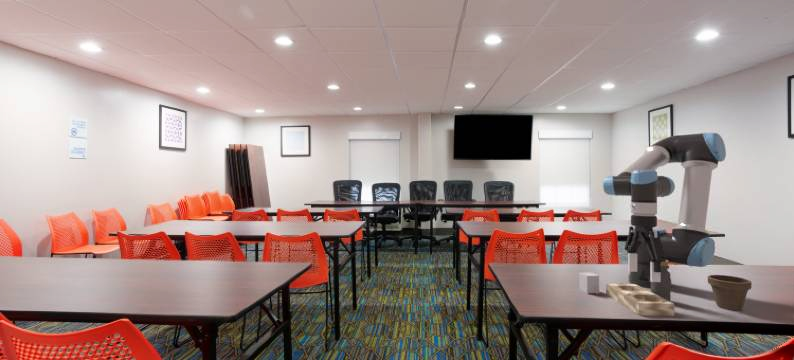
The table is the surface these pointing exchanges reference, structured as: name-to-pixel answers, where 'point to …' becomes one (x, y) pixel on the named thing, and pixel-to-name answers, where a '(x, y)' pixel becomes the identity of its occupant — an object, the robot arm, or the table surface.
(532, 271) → the table surface
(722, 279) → the flower pot
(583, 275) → the square bit
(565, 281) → the table surface
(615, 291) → the bore block
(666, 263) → the bottle
